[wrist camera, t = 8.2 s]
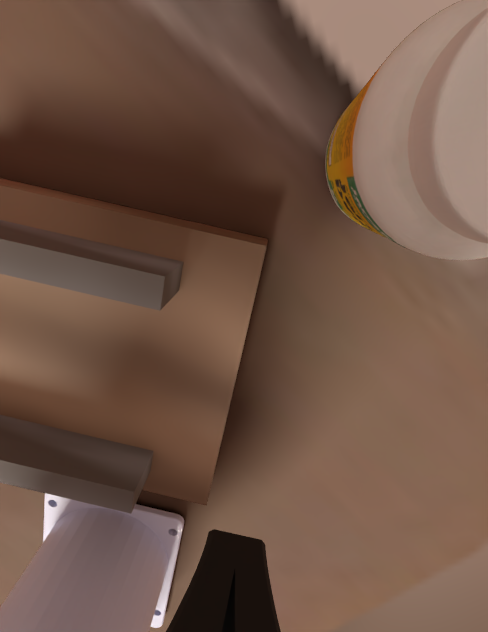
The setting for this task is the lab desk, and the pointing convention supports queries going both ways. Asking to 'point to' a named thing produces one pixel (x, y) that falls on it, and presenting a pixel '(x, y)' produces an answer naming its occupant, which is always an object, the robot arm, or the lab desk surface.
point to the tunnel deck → (116, 346)
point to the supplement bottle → (421, 140)
